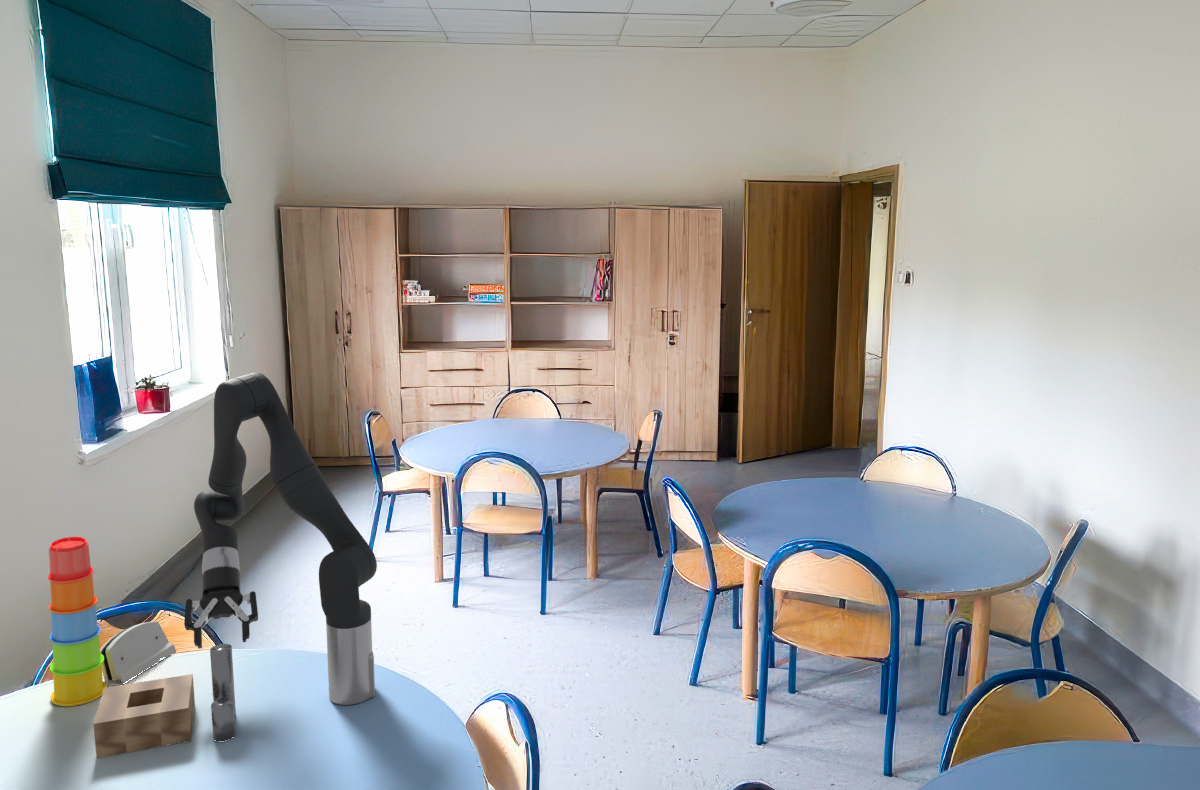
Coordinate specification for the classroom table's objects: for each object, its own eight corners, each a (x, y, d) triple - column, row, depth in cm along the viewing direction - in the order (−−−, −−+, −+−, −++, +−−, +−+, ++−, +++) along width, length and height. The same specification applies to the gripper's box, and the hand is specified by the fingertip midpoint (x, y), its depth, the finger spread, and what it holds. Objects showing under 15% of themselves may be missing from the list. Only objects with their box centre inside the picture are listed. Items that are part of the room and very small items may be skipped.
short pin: (235, 728, 170) (233, 696, 168) (235, 739, 166) (233, 706, 165) (213, 732, 168) (211, 700, 167) (212, 743, 165) (210, 710, 163)
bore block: (194, 704, 178) (192, 673, 177) (190, 740, 165) (188, 707, 164) (107, 719, 172) (104, 687, 171) (96, 758, 159) (93, 723, 158)
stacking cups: (111, 679, 188) (98, 529, 182) (101, 703, 178) (86, 545, 172) (58, 686, 184) (43, 534, 178) (44, 710, 175) (27, 550, 169)
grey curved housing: (123, 685, 185) (106, 643, 185) (106, 689, 187) (90, 647, 186) (177, 650, 201) (162, 611, 201) (162, 654, 203) (146, 615, 202)
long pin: (236, 709, 177) (231, 642, 174) (235, 719, 173) (231, 651, 170) (214, 713, 175) (210, 645, 172) (214, 723, 171) (209, 654, 169)
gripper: (183, 569, 180) (182, 643, 172) (255, 561, 186) (258, 632, 177) (186, 583, 186) (186, 655, 178) (256, 575, 191) (259, 645, 183)
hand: (222, 644), depth 177 cm, fingers open, 8 cm apart
